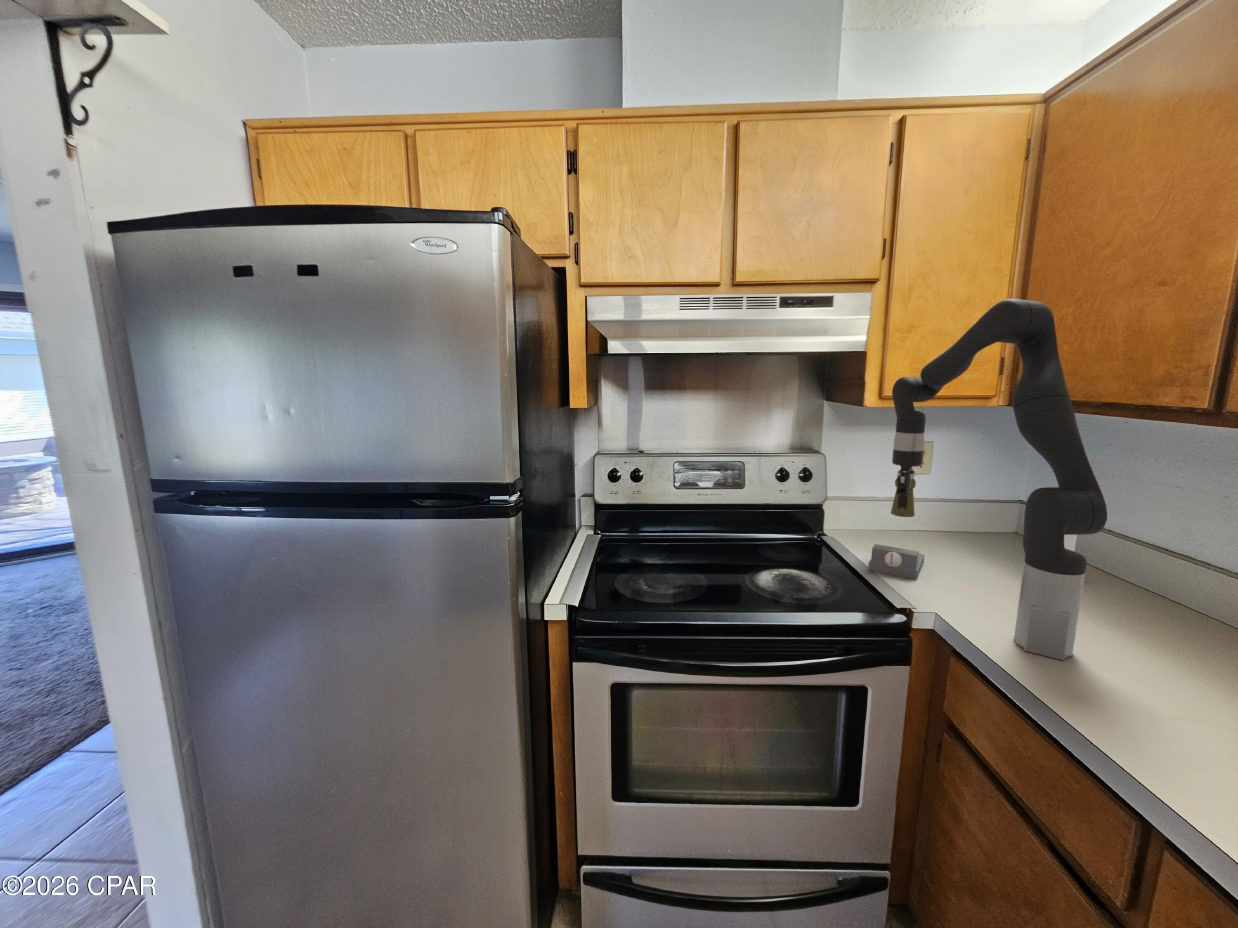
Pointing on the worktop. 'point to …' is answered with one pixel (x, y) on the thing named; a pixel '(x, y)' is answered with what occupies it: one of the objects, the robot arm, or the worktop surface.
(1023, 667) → the worktop surface
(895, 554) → the knob on square plate
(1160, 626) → the worktop surface
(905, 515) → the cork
